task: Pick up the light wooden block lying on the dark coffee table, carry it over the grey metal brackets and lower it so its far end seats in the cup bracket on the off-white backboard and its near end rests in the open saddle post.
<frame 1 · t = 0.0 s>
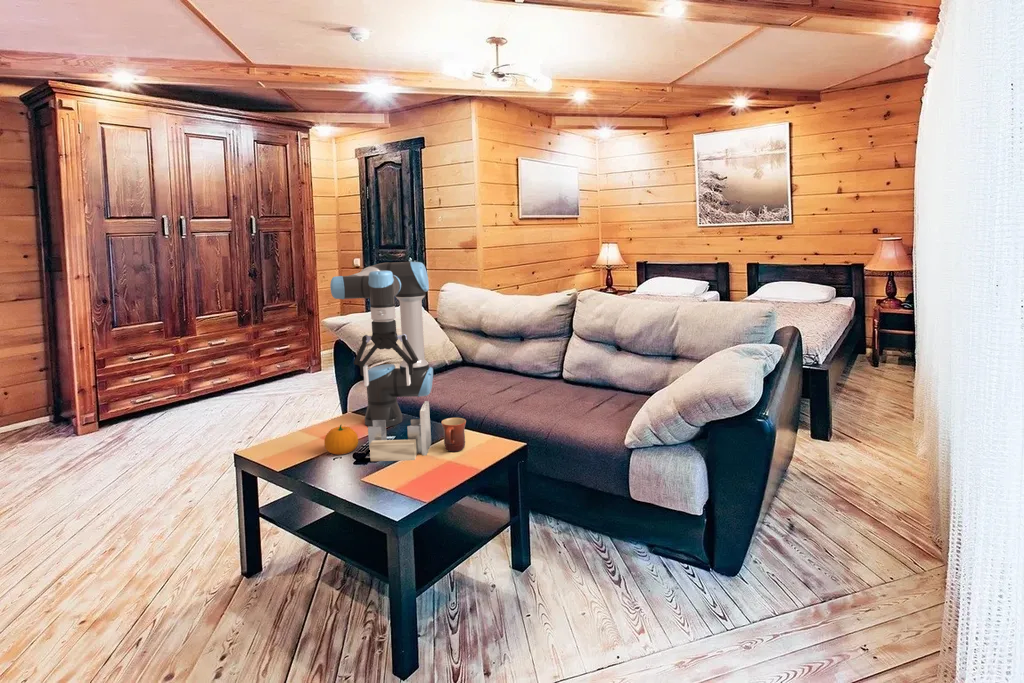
hand: (387, 385, 198), 28 cm above the table, fingers open, 13 cm apart
saddle post: (378, 450, 219), on the table
fruit: (342, 451, 219), on the table
light wooden block: (393, 458, 211), on the table
cup bracket: (417, 449, 219), on the table
mug: (453, 451, 217), on the table
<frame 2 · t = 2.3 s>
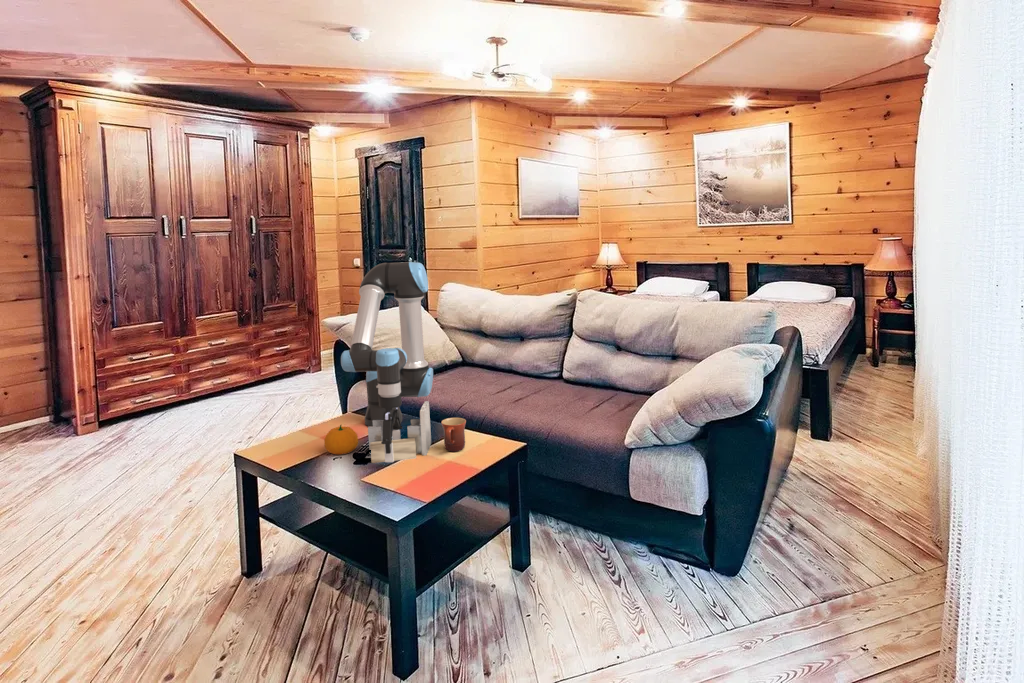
hand: (393, 454, 211), 1 cm above the table, fingers open, 13 cm apart
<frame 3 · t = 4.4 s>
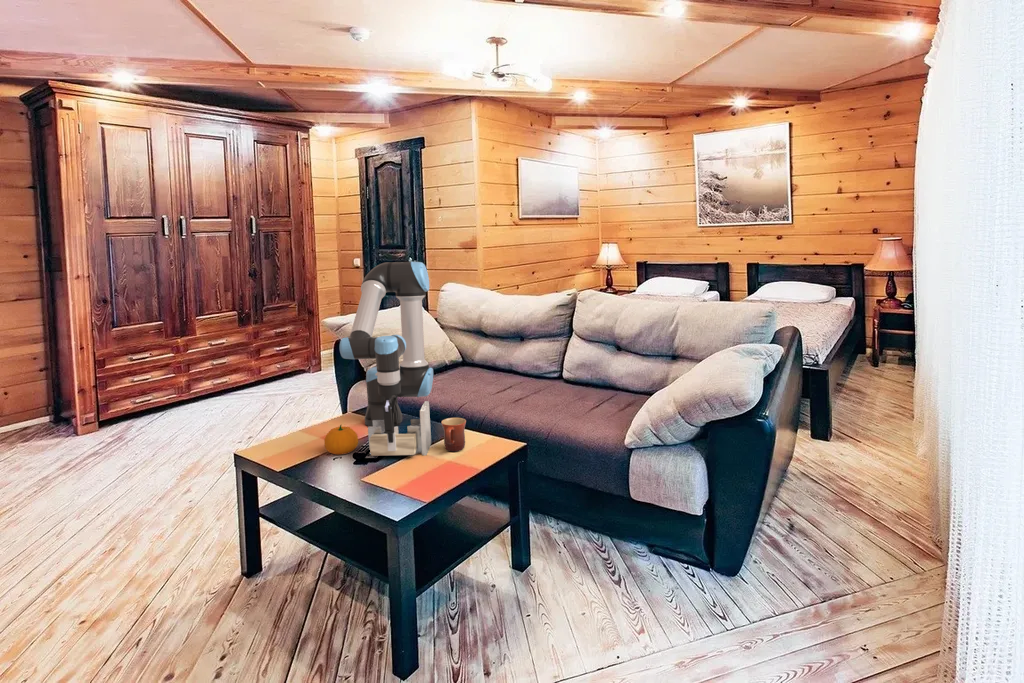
hand: (393, 447, 211), 4 cm above the table, fingers closed on light wooden block, 5 cm apart
light wooden block: (393, 452, 211), point 2 cm above the table, touching gripper
everything else where it was.
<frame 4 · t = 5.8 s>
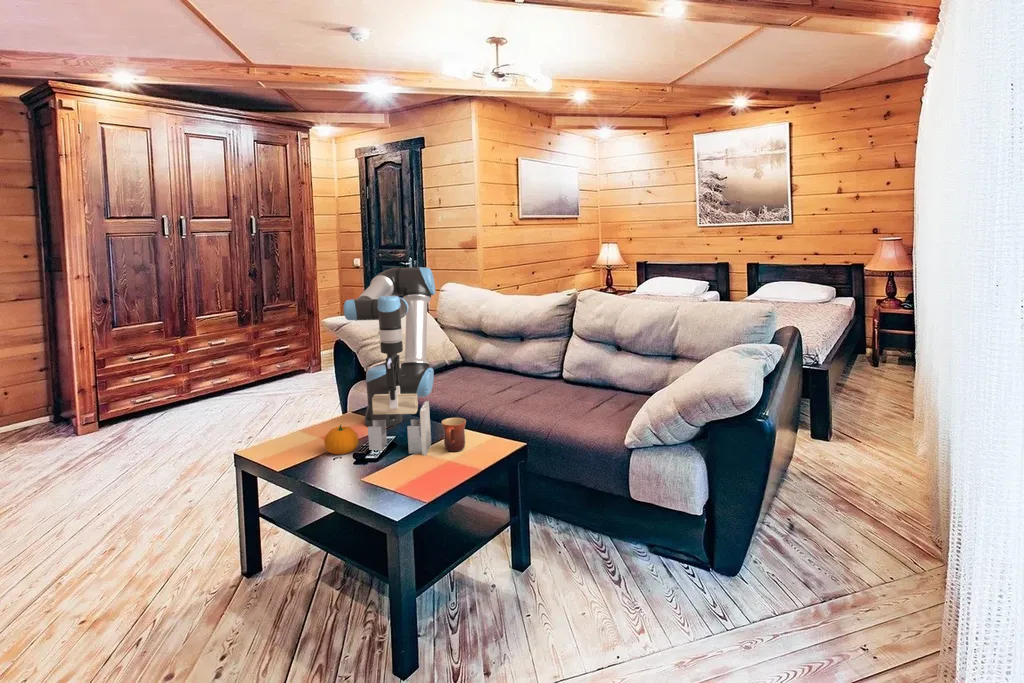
hand: (395, 405, 216), 16 cm above the table, fingers closed on light wooden block, 4 cm apart
light wooden block: (395, 412, 216), point 14 cm above the table, touching gripper
everything else where it was.
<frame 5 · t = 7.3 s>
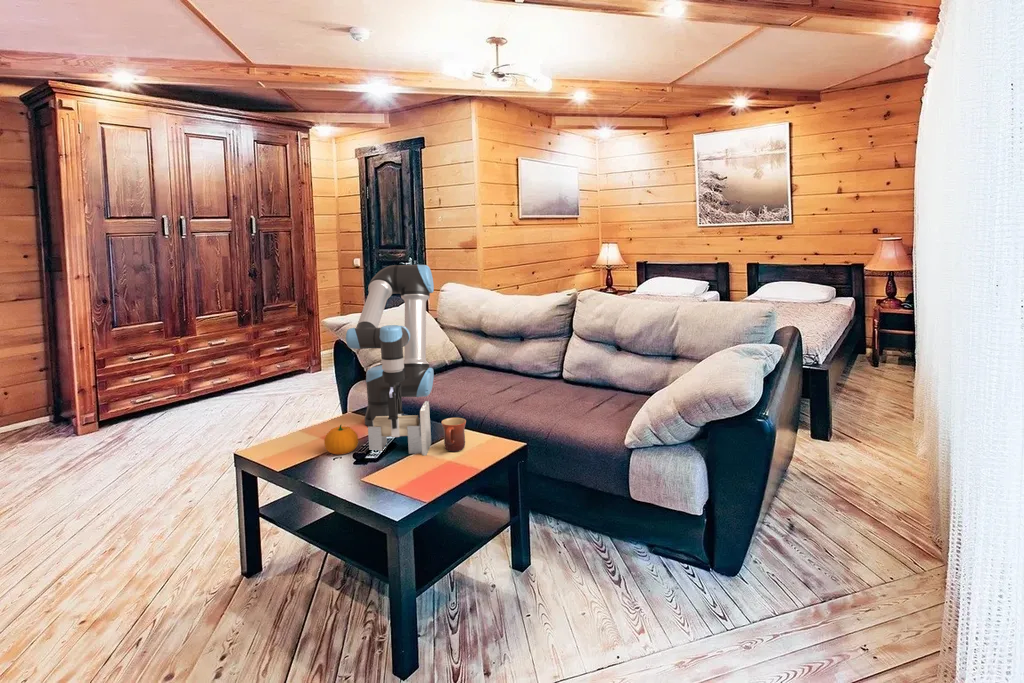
hand: (397, 434, 218), 6 cm above the table, fingers closed on light wooden block, 4 cm apart
light wooden block: (396, 433, 218), point 6 cm above the table, touching cup bracket, gripper, saddle post
everything else where it was.
when the fingers open (6 cm above the table, at t = 7.4 s): light wooden block stays where it is, resting on cup bracket, saddle post.
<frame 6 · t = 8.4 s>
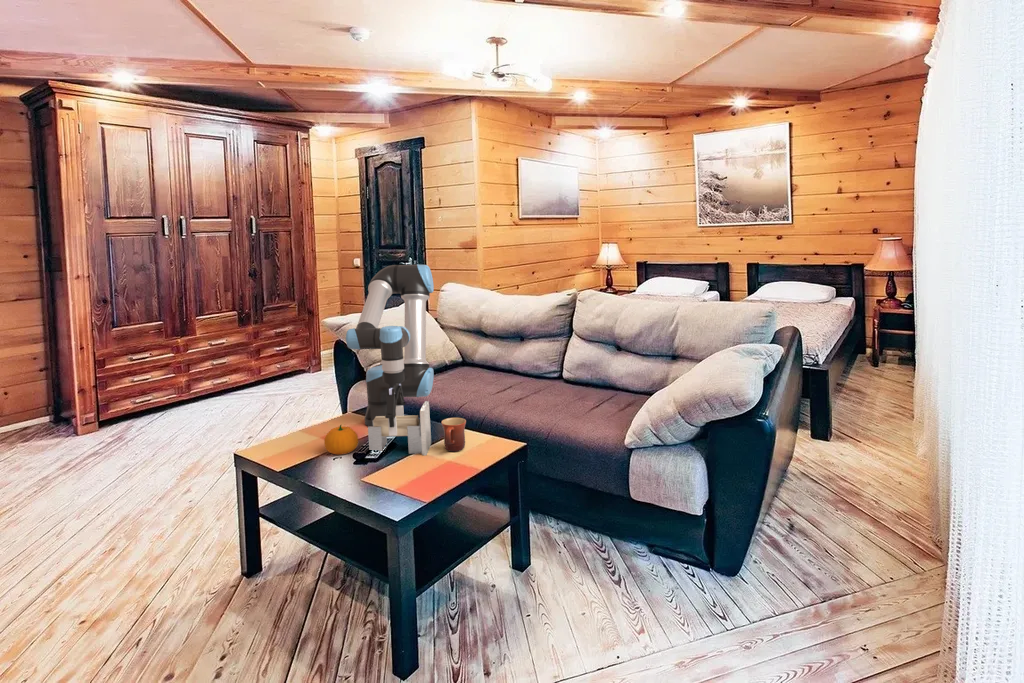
hand: (396, 429, 218), 8 cm above the table, fingers open, 13 cm apart
light wooden block: (396, 433, 218), point 6 cm above the table, touching cup bracket, saddle post
everything else where it was.
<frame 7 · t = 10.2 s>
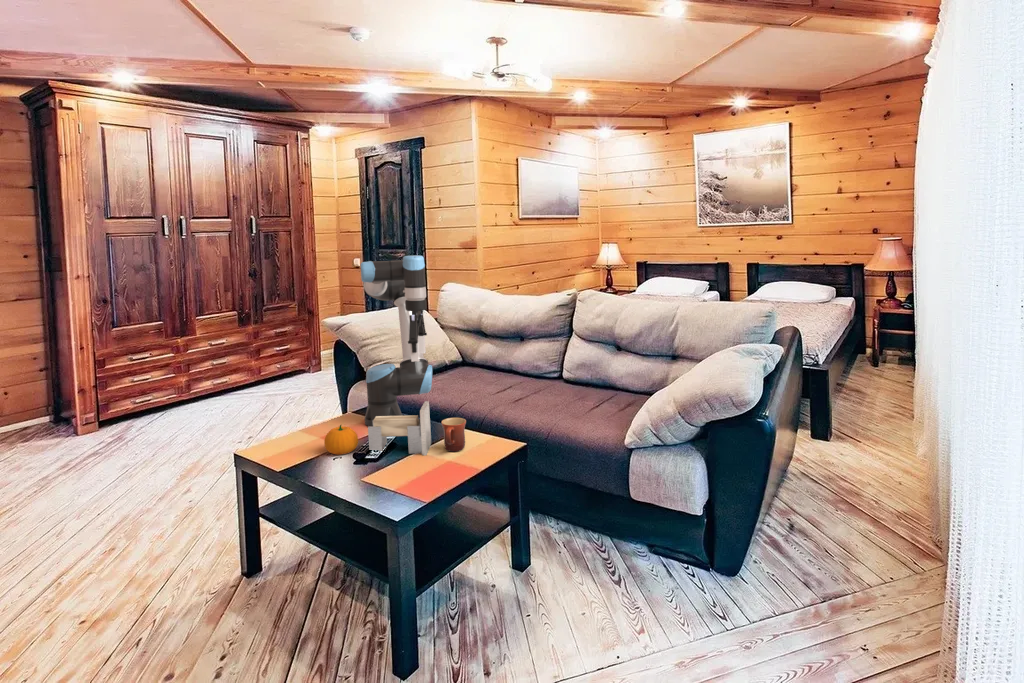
hand: (418, 357, 224), 31 cm above the table, fingers open, 13 cm apart
nothing on the table moved.
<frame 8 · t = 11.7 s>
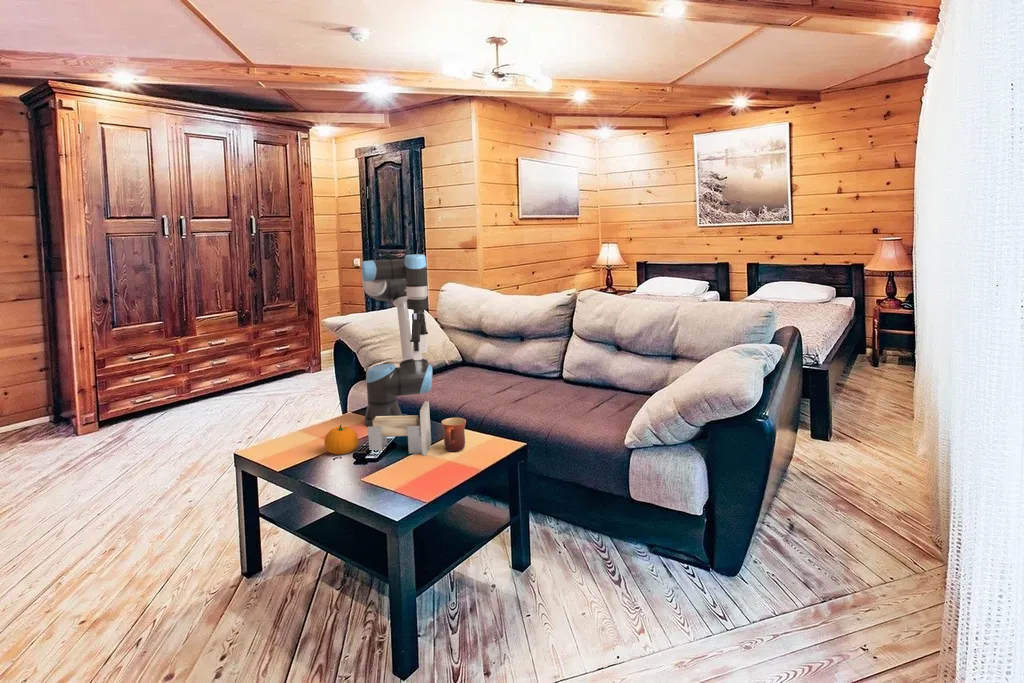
hand: (420, 356, 224), 32 cm above the table, fingers open, 13 cm apart
nothing on the table moved.
at the end: light wooden block 0.1 cm from the target spot, point 6.0 cm above the table; light wooden block tilted 0°; the gripper is holding nothing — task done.
